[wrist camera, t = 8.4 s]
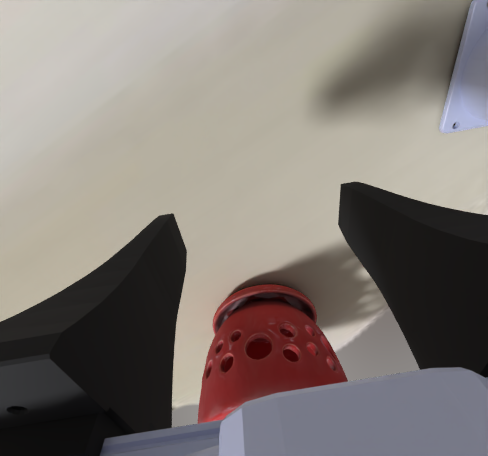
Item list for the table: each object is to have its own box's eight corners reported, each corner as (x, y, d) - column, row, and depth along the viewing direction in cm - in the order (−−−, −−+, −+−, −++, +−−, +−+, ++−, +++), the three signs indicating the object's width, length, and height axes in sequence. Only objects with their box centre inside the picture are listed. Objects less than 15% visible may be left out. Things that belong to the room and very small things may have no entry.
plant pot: (206, 270, 26) (197, 403, 16) (329, 274, 28) (391, 397, 18) (203, 346, 33) (195, 470, 23) (301, 345, 35) (334, 461, 25)
